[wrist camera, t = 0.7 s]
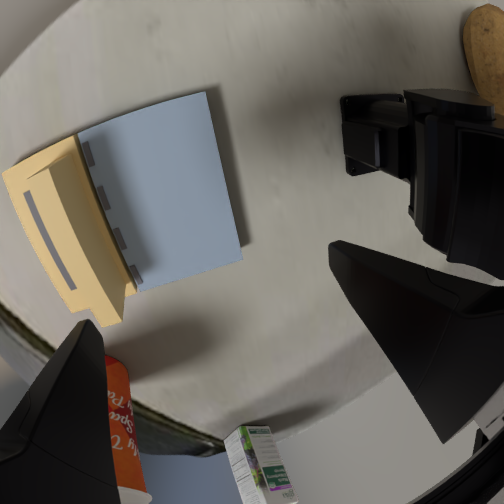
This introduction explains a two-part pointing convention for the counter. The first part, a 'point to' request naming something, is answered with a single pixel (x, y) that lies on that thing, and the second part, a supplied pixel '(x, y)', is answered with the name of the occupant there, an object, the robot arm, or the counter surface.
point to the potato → (486, 53)
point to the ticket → (164, 190)
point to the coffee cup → (124, 436)
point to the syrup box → (259, 467)
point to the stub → (71, 230)
